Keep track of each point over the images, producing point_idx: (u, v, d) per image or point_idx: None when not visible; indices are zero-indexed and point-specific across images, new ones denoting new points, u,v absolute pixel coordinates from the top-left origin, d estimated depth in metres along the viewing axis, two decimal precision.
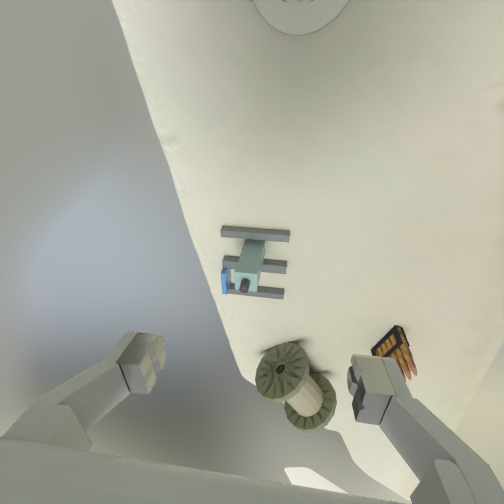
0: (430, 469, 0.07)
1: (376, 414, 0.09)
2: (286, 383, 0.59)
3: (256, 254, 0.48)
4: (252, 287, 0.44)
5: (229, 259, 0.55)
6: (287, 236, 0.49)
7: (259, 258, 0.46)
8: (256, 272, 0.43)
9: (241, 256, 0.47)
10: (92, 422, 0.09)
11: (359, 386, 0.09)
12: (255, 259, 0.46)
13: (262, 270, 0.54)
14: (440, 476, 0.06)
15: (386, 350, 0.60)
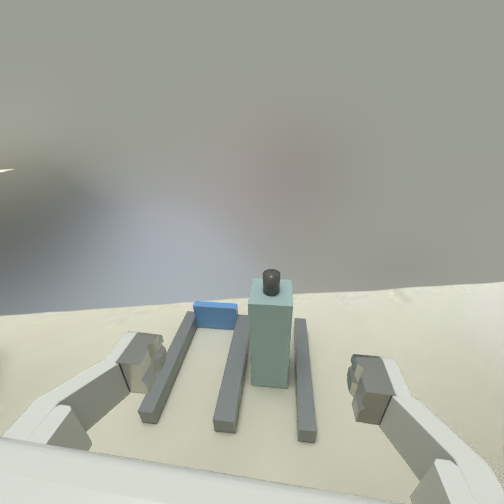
0: (430, 469, 0.07)
1: (376, 414, 0.09)
2: None
3: None
4: (258, 298, 0.23)
5: None
6: (313, 426, 0.22)
7: None
8: None
9: None
10: (92, 422, 0.09)
11: (359, 386, 0.09)
12: None
13: (227, 371, 0.28)
14: (440, 476, 0.06)
15: None
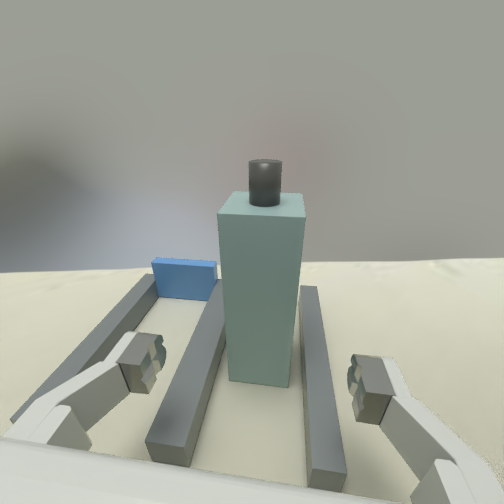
0: (430, 469, 0.07)
1: (376, 414, 0.09)
2: None
3: None
4: (239, 208, 0.12)
5: None
6: (341, 462, 0.11)
7: (296, 299, 0.13)
8: None
9: None
10: (92, 422, 0.09)
11: (359, 386, 0.09)
12: None
13: (189, 354, 0.16)
14: (440, 476, 0.06)
15: None
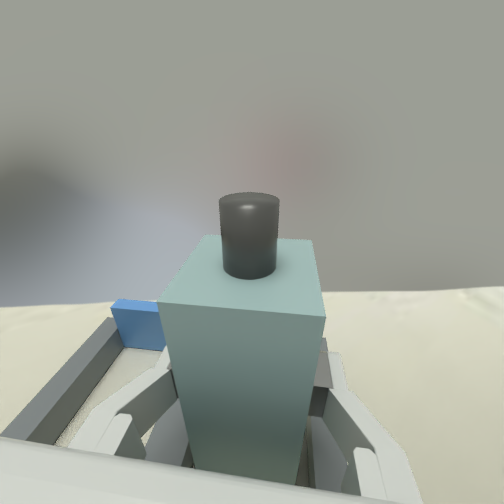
0: (351, 457, 0.07)
1: (318, 407, 0.09)
2: None
3: None
4: (202, 285, 0.07)
5: None
6: None
7: (304, 424, 0.08)
8: None
9: None
10: (144, 430, 0.09)
11: None
12: None
13: None
14: (356, 463, 0.06)
15: None
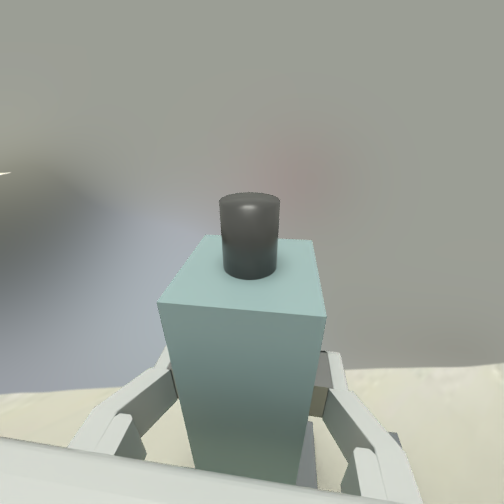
0: (351, 457, 0.07)
1: (318, 407, 0.09)
2: None
3: None
4: (202, 285, 0.07)
5: None
6: None
7: (305, 425, 0.08)
8: None
9: None
10: (144, 430, 0.09)
11: None
12: None
13: None
14: (356, 463, 0.06)
15: None
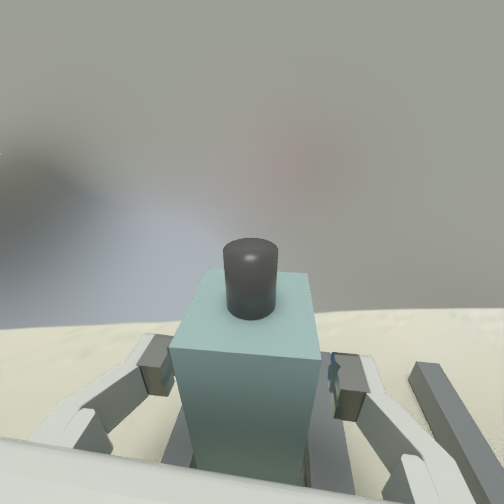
0: (398, 464, 0.07)
1: (352, 411, 0.09)
2: None
3: None
4: (209, 327, 0.07)
5: None
6: None
7: (304, 447, 0.09)
8: None
9: None
10: (112, 425, 0.09)
11: (336, 383, 0.09)
12: None
13: None
14: (405, 471, 0.06)
15: None
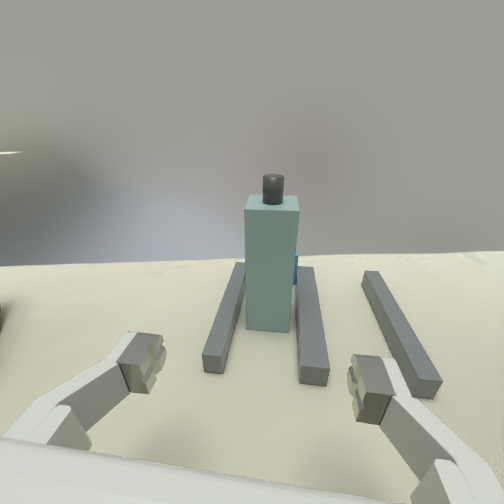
0: (430, 469, 0.07)
1: (376, 414, 0.09)
2: None
3: None
4: (257, 206, 0.19)
5: None
6: (437, 376, 0.17)
7: (294, 265, 0.20)
8: (298, 216, 0.18)
9: None
10: (92, 422, 0.09)
11: (359, 386, 0.09)
12: None
13: (303, 317, 0.22)
14: (440, 476, 0.06)
15: None
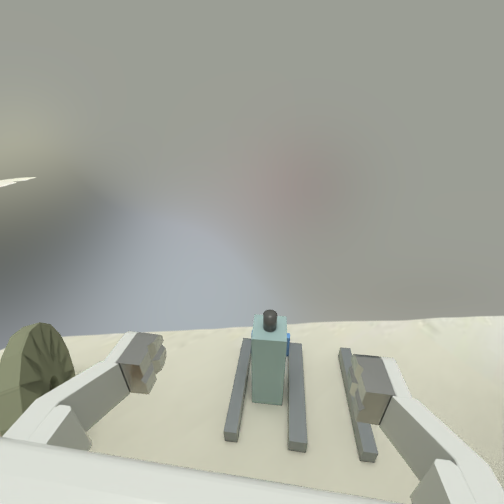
0: (430, 469, 0.07)
1: (376, 414, 0.09)
2: (33, 379, 0.24)
3: None
4: (259, 334, 0.29)
5: (301, 353, 0.39)
6: (375, 449, 0.27)
7: (284, 368, 0.30)
8: (286, 343, 0.28)
9: None
10: (92, 422, 0.09)
11: (359, 386, 0.09)
12: None
13: (291, 396, 0.32)
14: (440, 476, 0.06)
15: None
